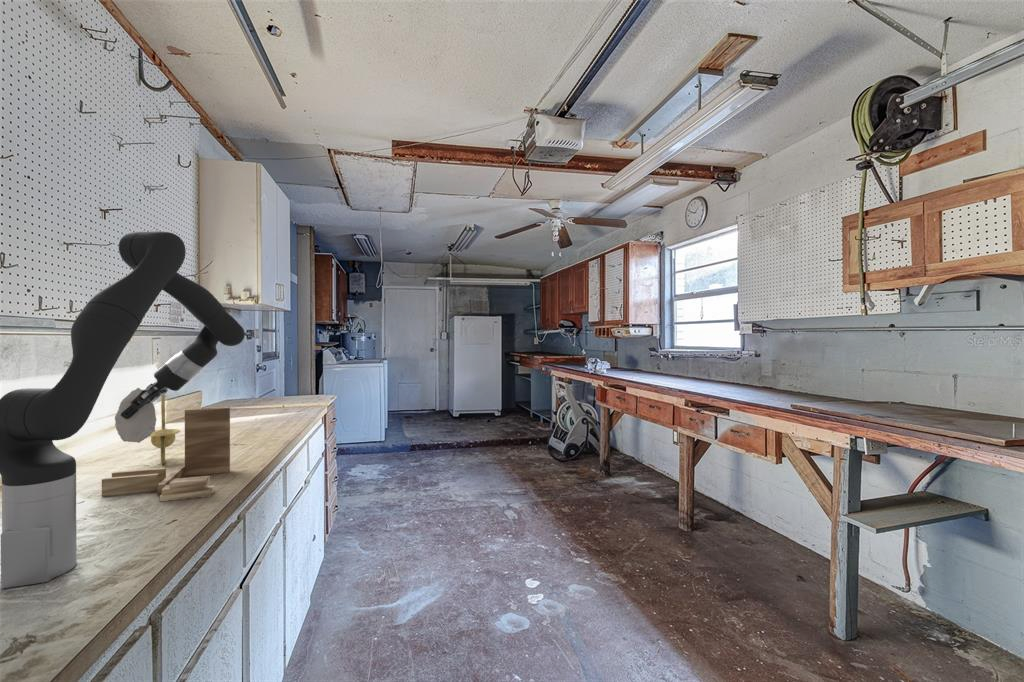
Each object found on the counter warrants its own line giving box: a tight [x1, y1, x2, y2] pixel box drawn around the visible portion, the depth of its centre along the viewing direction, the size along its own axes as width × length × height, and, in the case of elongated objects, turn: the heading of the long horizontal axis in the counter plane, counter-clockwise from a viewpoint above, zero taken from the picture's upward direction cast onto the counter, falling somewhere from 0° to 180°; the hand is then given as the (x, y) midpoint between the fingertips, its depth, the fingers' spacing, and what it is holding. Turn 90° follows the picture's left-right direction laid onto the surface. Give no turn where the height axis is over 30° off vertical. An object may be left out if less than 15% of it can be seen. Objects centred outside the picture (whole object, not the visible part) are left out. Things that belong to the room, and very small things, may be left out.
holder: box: [101, 467, 167, 497], centre depth 124 cm, size 7×12×4 cm, turn 112°
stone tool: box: [114, 387, 157, 444], centre depth 124 cm, size 9×3×15 cm, turn 119°
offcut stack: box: [159, 475, 216, 502], centre depth 119 cm, size 5×11×4 cm, turn 112°
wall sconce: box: [148, 393, 181, 465], centre depth 149 cm, size 14×10×25 cm
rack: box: [157, 407, 231, 497], centre depth 130 cm, size 19×13×20 cm
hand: (126, 416), depth 123 cm, fingers closed on stone tool, 2 cm apart
